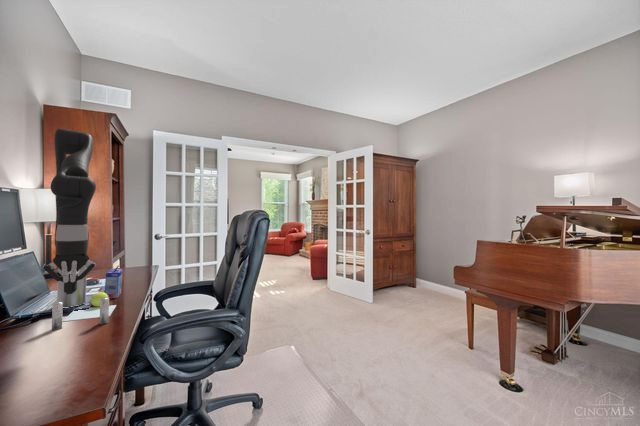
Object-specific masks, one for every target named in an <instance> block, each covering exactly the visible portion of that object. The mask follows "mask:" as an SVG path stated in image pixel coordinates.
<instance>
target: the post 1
mask: <svg viewBox="0 0 640 426" xmlns="http://www.w3.org/2000/svg"><path fill="white" fill-rule="evenodd" d="M51 307H52V308H51V309H52V314H51V331H57V330H58V331H59V330H61V329H63V310H64V309H63V302H57V301H56V302H55V301H54V302H53V303H52V306H51Z"/></svg>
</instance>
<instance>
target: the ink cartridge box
mask: <svg viewBox="0 0 640 426" xmlns="http://www.w3.org/2000/svg"><path fill="white" fill-rule="evenodd" d="M119 267H120V265H118V266H116V268H115V269H114V268H113V269H109V270H108V271H107V272H106V273H105V281H104V293H106V294H107V295H108V298H109V299H117V298H118V299H119V296H120V295H121V294H122V285H123V284H122V283H123V270H124V269H122V268H119Z"/></svg>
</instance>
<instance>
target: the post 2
mask: <svg viewBox="0 0 640 426" xmlns="http://www.w3.org/2000/svg"><path fill="white" fill-rule="evenodd" d="M109 306H110V298H108V297H107V298H101V299H100V317H99V323H98V324H99V325H107V324H108V323H109V319H110V318H109V317H110V316H109Z"/></svg>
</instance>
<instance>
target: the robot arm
mask: <svg viewBox="0 0 640 426" xmlns="http://www.w3.org/2000/svg"><path fill="white" fill-rule="evenodd" d="M53 140H54V141H53V142H54V154H55V171H56V172H55V173H56V174H55V176H54V177H53V178H52V181H51V183H50V191H51V193H52V194H53V195H54V196H55V210H56V211H55V212H56V213H55V214H56V215H55V217H56V218H55V228H54V230H55V231H54V247H55V252H54V258H53V259H52V262H50V263H48V264H46V265H44V266H43V270H44V271H45V272H46V273H48V274H49V275H50V276H51V277H52V278H53V279H54V281H56V282H57V289H56V291H57V292H56V293H57V295H56V302H63V307H71V306H76V305H80V304H83V303H85V304H86V299H87V298H86V297H87V279H88V278H87V277H88V276H87V275H88V274H89V273H90V272H91V271H92V270H94V268H96V267H97V265H98V263H97V262H94V261H92V260H90V257H89V256H88V248H89V238H90V233H89V230H88V217H89V208H90V205H91V202H92V199H93V197H94V195H95V192H96V189H97V184H96V182H95V181H94V179H92V178H90V177H89V166H90V162H91V159H92V155H93V151H94V139H93V137H92V135H91V134H90V133H87V132H84V131H78V130H71V129H66V128H57V129H56V130H55V133H54V139H53ZM67 155H68V156H67Z"/></svg>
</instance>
